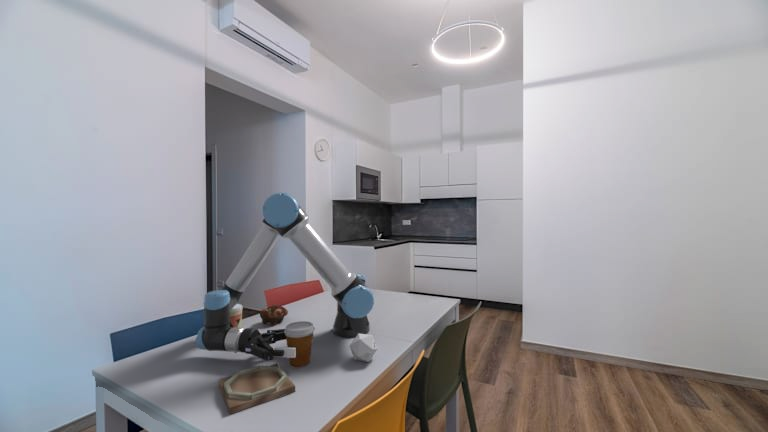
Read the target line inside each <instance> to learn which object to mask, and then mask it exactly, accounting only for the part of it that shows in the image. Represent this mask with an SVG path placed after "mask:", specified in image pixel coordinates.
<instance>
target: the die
mask: <svg viewBox="0 0 768 432" xmlns="http://www.w3.org/2000/svg"><path fill="white" fill-rule="evenodd" d="M348 346H349V349H350V351H351V354H352V357H353V359H354V361H360V362H366V363H370V361H371V360H372V359H373V357H374V355H375V354H376V352H377V351H378V347H377V344H376V341H375V339H374V336H373V335H372V334H367V333H366V334H360V333H358V334H357V336H355V337H354V338H353V340H352V341H351V342H350V344H349V345H348Z"/></svg>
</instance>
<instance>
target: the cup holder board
mask: <svg viewBox="0 0 768 432" xmlns="http://www.w3.org/2000/svg"><path fill="white" fill-rule="evenodd" d="M218 386H219V390H220V392H221V394H222V397H223V399H224V402H225V405H226V408H227V410H228V414H229V415H232V414H235V413H237V412H241V411H243V410H247V409H249V408H251V407H255V406H257V405H260V404H263V403H266V402H269V401H273V400H275V399H278V398H280V397H283V396H285V395H286V396H287V395H289V394H293V393H294V392H296V385H295V383H294V382H293V381H292V380H291V379H290V378H289V376H288V374H287V373H286V372H285V371H284V369H283V368H282V367H281V366H279V364H278V363H273V364H270V365H257V366H254V367H251V368H246V369H242V370H239V371H237V372H236V373H235V374H234V375H230V376H228V377H224V378H220V379H218Z"/></svg>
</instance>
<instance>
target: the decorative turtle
mask: <svg viewBox="0 0 768 432" xmlns="http://www.w3.org/2000/svg"><path fill="white" fill-rule="evenodd" d="M259 311H260V312H259V317H260V319H261V322H262V324H263V325H267V324H270V326H275V325H276V323H279V324H281V323H283V321H284V319H285V317H287V315H288V314H289V310H288V309H287V308H285V306H284V307H283V306H281V305H270V306H268V307H267V308H262V309H261V310H259Z"/></svg>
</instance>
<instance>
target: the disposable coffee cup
mask: <svg viewBox="0 0 768 432" xmlns="http://www.w3.org/2000/svg"><path fill="white" fill-rule="evenodd" d="M284 329H285V330H284V333H285V335H286V339H285V341H286V347H291V348H296V357H295V358H288V361H289V362H288V363H289V366H290V367H291V368H304V367H307V366H308V365H309V364H310V362H311V353H312V347H313V340H314V332H315V330H316V328H315V325H314V323H313V322H311V321H305V320H304V321H303V320H302V321H295V322H291V323H288V324H287V325H286V326H285V328H284ZM312 339H313V340H312Z"/></svg>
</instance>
